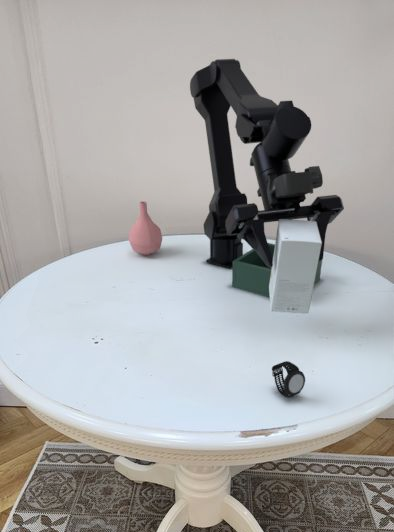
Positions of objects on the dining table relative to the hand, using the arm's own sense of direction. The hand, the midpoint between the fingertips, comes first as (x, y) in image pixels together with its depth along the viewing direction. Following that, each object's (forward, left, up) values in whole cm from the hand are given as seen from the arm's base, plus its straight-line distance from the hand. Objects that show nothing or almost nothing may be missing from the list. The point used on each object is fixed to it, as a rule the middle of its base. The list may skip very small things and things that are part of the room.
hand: (295, 263), depth 85 cm
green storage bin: (-11, +17, -13) cm, 24 cm away
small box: (-2, +1, -8) cm, 8 cm away
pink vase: (-44, +15, -13) cm, 49 cm away
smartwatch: (+8, -15, -13) cm, 22 cm away
